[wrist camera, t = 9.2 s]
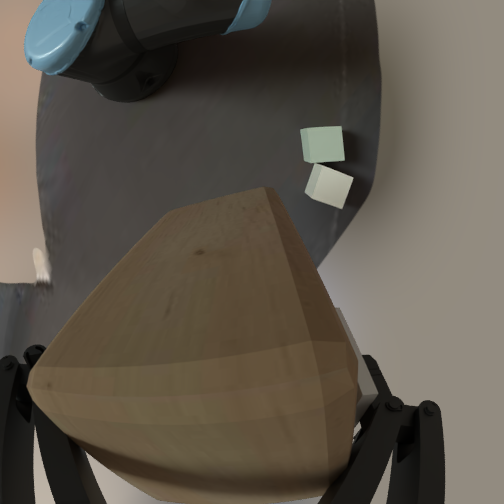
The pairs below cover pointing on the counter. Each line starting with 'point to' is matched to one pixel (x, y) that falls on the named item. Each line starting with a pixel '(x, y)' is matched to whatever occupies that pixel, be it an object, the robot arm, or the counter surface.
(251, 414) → the wooden block
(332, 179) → the cube cream
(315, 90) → the counter surface
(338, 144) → the cube sage
